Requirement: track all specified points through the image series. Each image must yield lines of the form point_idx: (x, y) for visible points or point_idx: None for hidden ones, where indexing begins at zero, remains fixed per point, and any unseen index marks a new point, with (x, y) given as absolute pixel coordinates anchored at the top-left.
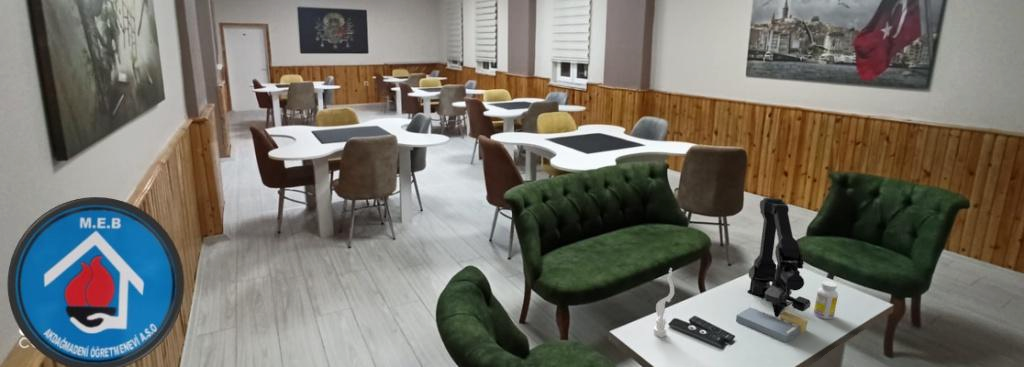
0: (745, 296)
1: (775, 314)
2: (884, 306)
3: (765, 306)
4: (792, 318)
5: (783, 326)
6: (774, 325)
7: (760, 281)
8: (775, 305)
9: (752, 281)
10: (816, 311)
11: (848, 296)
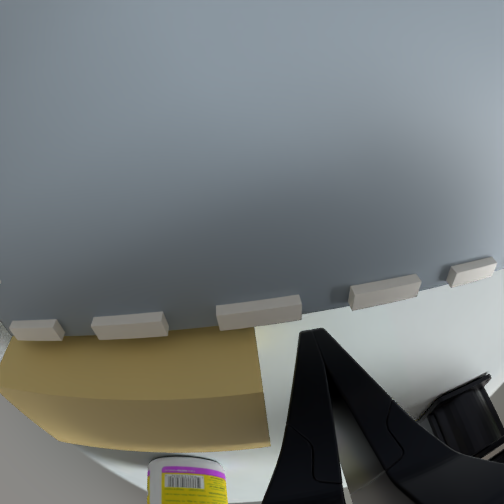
0: (499, 348)
1: (332, 353)
2: None
3: (420, 372)
4: (90, 404)
5: (29, 166)
6: (122, 25)
7: (479, 451)
8: (391, 467)
9: (496, 423)
10: (196, 476)
11: (232, 498)
